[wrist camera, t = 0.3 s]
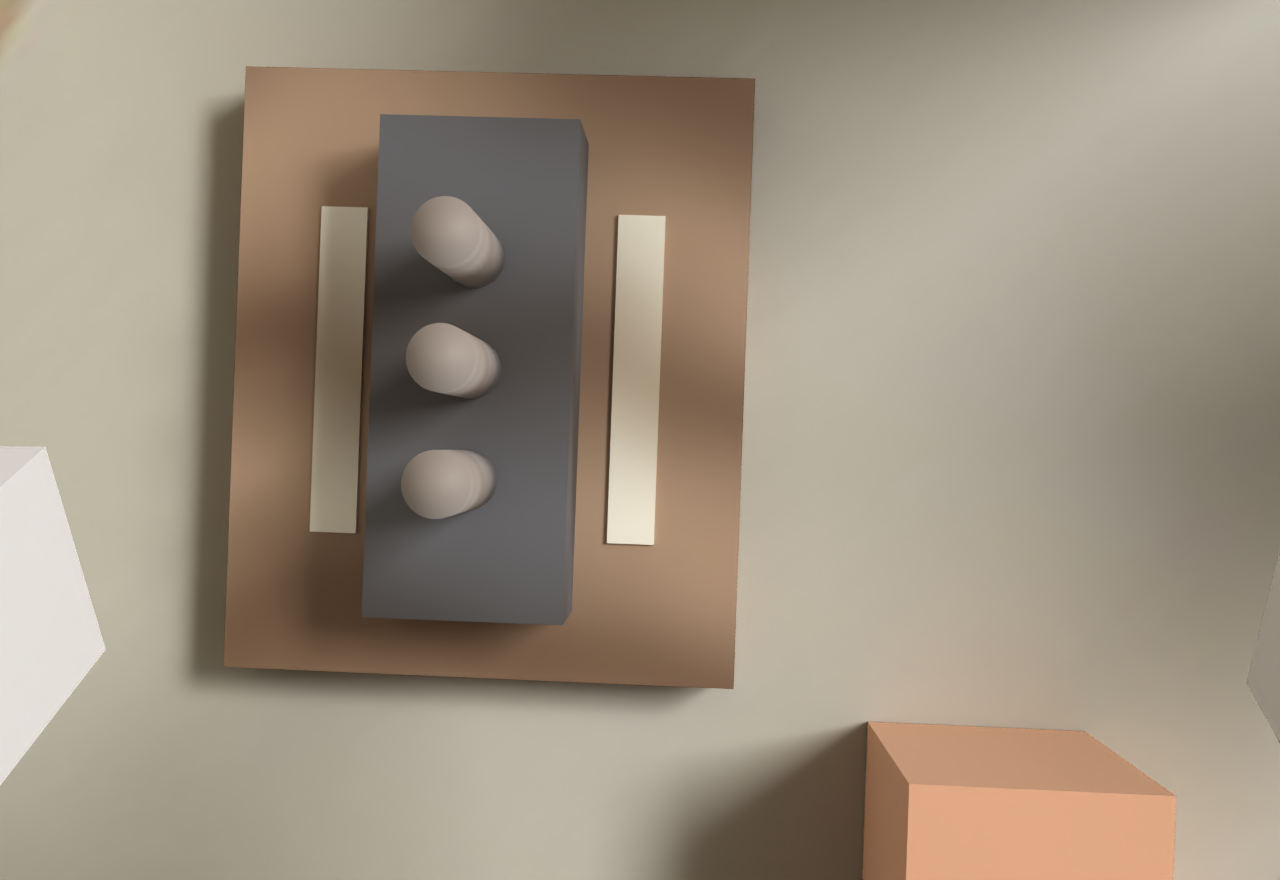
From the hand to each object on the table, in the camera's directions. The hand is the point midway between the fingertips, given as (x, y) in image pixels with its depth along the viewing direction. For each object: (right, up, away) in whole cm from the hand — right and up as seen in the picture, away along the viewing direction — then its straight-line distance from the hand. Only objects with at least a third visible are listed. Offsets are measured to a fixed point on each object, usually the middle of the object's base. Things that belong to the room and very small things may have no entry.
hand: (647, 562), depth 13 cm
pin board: (-3, +3, +14) cm, 15 cm away
